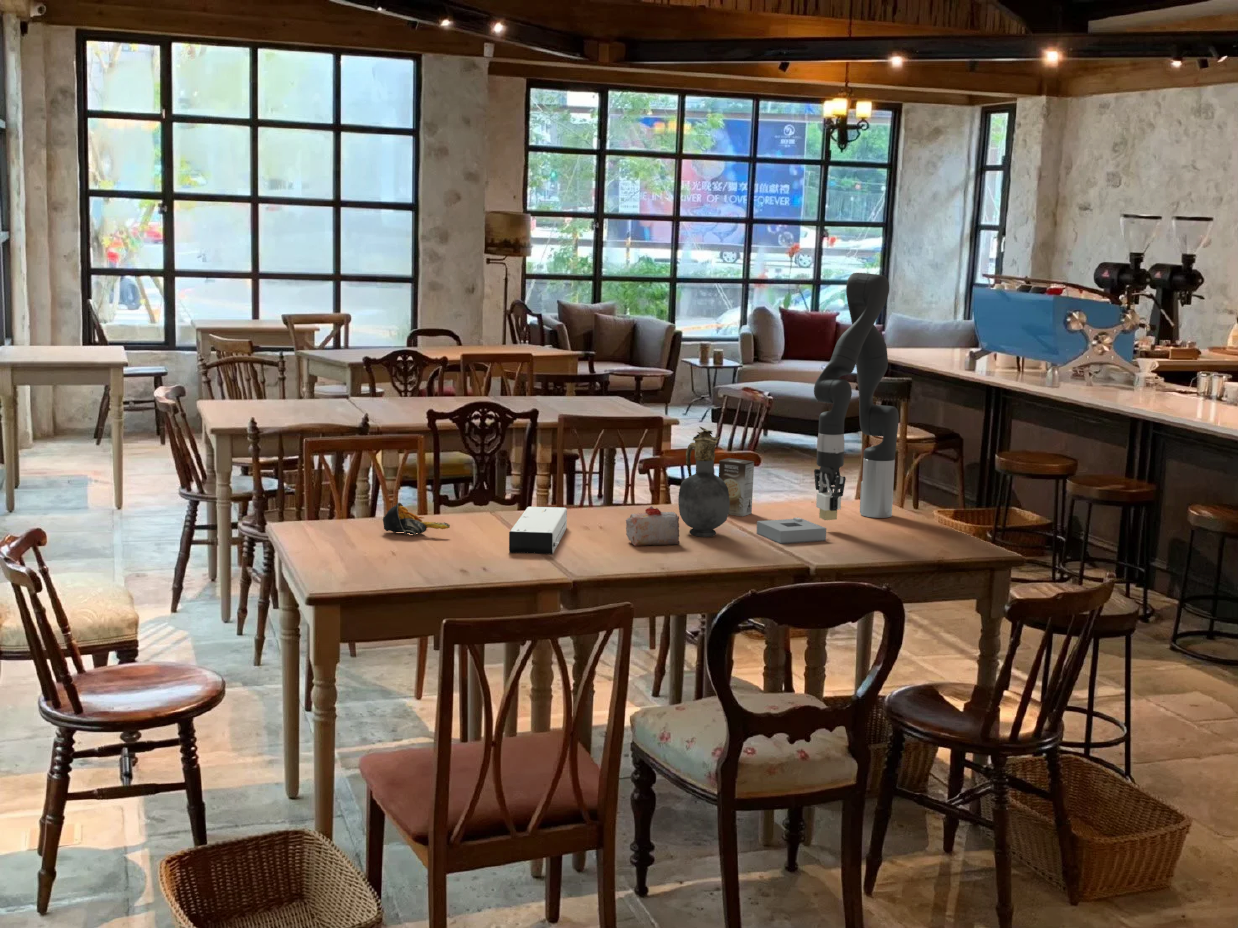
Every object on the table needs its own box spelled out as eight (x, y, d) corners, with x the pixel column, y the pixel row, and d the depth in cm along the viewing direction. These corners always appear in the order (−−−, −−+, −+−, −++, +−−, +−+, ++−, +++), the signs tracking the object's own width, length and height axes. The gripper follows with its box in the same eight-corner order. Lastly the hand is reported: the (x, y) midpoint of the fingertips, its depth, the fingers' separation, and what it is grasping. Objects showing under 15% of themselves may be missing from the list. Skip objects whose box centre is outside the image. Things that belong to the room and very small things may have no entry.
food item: (631, 547, 350) (632, 511, 349) (624, 541, 358) (624, 505, 356) (681, 546, 353) (682, 509, 352) (673, 539, 361) (673, 504, 359)
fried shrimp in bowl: (386, 511, 367) (447, 493, 366) (394, 549, 365) (456, 531, 363) (374, 505, 359) (437, 486, 357) (383, 544, 356) (446, 524, 354)
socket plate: (756, 533, 371) (757, 519, 370) (800, 530, 376) (801, 516, 375) (780, 543, 358) (780, 529, 357) (825, 540, 363) (826, 526, 362)
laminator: (527, 528, 374) (527, 506, 373) (570, 529, 373) (570, 507, 372) (509, 554, 341) (509, 531, 340) (556, 556, 340) (556, 532, 339)
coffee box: (715, 513, 399) (717, 460, 396) (725, 509, 404) (727, 457, 401) (743, 516, 394) (745, 463, 391) (753, 513, 399) (754, 460, 396)
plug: (815, 517, 377) (816, 493, 376) (831, 516, 379) (832, 492, 377) (824, 521, 372) (825, 496, 371) (840, 519, 374) (841, 495, 373)
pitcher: (697, 541, 359) (700, 431, 354) (668, 527, 376) (670, 422, 372) (733, 538, 363) (736, 430, 358) (702, 525, 380) (706, 421, 376)
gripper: (806, 445, 377) (804, 504, 380) (831, 454, 364) (829, 514, 367) (829, 444, 380) (827, 502, 383) (855, 452, 367) (853, 512, 370)
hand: (828, 508), depth 375 cm, fingers closed on plug, 5 cm apart
